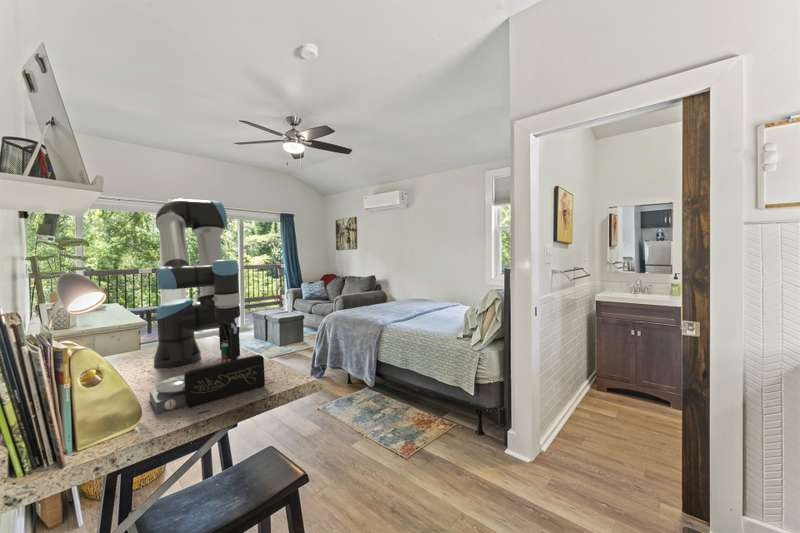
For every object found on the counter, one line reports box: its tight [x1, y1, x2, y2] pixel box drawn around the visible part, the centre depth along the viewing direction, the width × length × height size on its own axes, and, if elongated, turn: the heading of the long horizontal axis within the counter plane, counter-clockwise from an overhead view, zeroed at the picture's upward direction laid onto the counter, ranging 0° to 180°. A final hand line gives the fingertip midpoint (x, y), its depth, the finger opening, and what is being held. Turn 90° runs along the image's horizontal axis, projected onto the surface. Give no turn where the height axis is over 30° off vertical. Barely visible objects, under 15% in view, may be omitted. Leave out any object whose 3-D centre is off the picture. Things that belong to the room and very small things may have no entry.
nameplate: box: [183, 354, 266, 409], centre depth 100 cm, size 21×2×10 cm, turn 132°
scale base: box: [149, 388, 187, 415], centre depth 98 cm, size 12×13×3 cm
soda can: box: [220, 340, 240, 363], centre depth 114 cm, size 5×5×12 cm
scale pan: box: [155, 374, 185, 394], centre depth 98 cm, size 11×11×2 cm
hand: (230, 373), depth 114 cm, fingers closed on soda can, 5 cm apart
